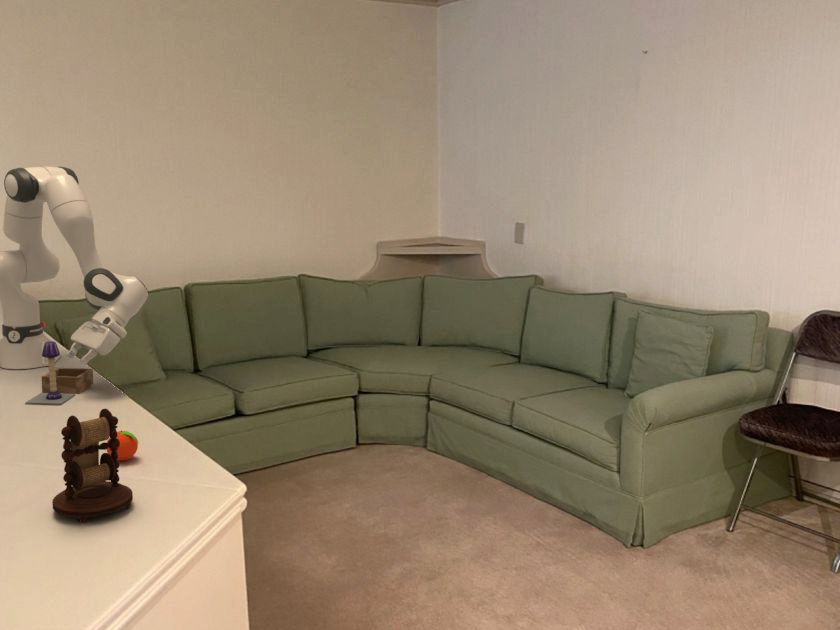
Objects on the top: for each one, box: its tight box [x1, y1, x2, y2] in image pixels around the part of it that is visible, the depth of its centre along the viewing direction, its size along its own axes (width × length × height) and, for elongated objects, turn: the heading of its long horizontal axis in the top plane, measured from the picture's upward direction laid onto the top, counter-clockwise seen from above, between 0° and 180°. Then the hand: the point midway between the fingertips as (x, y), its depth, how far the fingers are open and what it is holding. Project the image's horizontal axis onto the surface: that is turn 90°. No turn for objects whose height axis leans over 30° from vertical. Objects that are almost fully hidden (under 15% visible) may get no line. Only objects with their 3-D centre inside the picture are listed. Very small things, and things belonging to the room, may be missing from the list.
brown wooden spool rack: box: [52, 408, 134, 524], centre depth 155 cm, size 15×15×20 cm
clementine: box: [106, 430, 140, 462], centre depth 182 cm, size 8×7×7 cm
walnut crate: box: [40, 367, 94, 395], centre depth 240 cm, size 11×11×5 cm
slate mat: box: [24, 392, 76, 406], centre depth 228 cm, size 10×10×1 cm
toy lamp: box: [42, 340, 62, 400], centre depth 226 cm, size 5×5×17 cm
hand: (75, 359), depth 231 cm, fingers open, 8 cm apart
